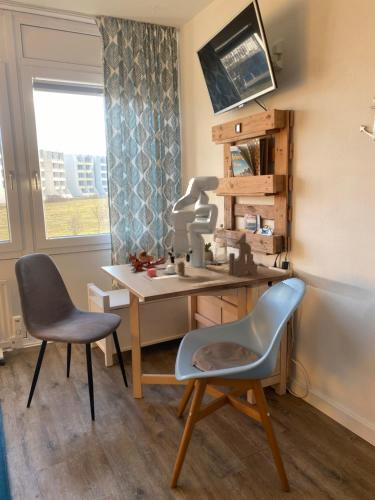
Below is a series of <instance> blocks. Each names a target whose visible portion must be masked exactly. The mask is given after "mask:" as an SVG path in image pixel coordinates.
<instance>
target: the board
mask: <svg viewBox="0 0 375 500" xmlns="http://www.w3.org/2000/svg"><path fill="white" fill-rule="evenodd" d="M146 273H147V274H146V276H145V275H142V277H144V278H145V279H147V280H149V281H151V282H152V280H151V279H150V278H152V279H153V280H161V279H162V280H163V279H167V278H177V277H180V276H179V275H178V272H175V273H174V274H166V272H162V276H157V269H156V268H155V267H153V268H152V269H147V268H146ZM147 276H148V277H150V278H148V277H147ZM184 276H186V274H185V275H183V277H184Z"/></svg>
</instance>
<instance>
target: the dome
mask: <svg viewBox="0 0 375 500" xmlns="http://www.w3.org/2000/svg"><path fill="white" fill-rule="evenodd" d="M175 271H176V269H175V267H174V265H172V264H168V265H167V266H166V267H165V273H166V274H174V273H175Z"/></svg>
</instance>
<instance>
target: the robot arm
mask: <svg viewBox="0 0 375 500" xmlns="http://www.w3.org/2000/svg"><path fill="white" fill-rule="evenodd" d="M219 180H220V179H219V178H218V176H215V175H209V176H197V177H196V176H195V177H192V178H191V179H190V180H189V184H188V185H187V188H186V191H185V195H184V196H182V197H181V198H180V199H178V200H177V201H176V202H175V204H174V205H173V208H172V210H171V213H170V214H171V215H170V219H171V221H172V222H173V235H172V236H171V239H170V241H171V242H170V246H169V247H167V248H165V251H166V252H167V254H168V256H169V258H170V259H169V260H170V263H171V265H172V264H174V265H175V255H176V254H184V253H185V254H186V255H185V262H186V263H189V265H188V267H191V268H202V269H204V270H206V268H207V269H208V265H211V264H212V260H211V261H210V260H206V250H205V247H206V243H205V242H206V241H205V239H204V237H203V235H213V234H214V233H215V232H216V228H217V223H218V217H219V208H218V206H217V204H215V203H209V201H210V196H209V195H208V193H206V192H212V191H215V190H217V189H218V188H219V186H220V181H219ZM193 205H194V207H193V210H188V209H187V210H186V209H185V208H187V207H190V206H193ZM184 209H185V210H184Z"/></svg>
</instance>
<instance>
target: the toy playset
mask: <svg viewBox="0 0 375 500" xmlns="http://www.w3.org/2000/svg"><path fill="white" fill-rule="evenodd" d="M147 254H148V252H147V251H146V250H142V251H140V252H139V254H138V258H137V253H136V251H134V255H132V254H131V252H129V253H128V256H129V259H128V262H130V264H128V266H129V267H133V268H132V269H130V271H136V272H137V271H138V272H147V269H152V268H155V267H156V266H160V265H161V266H162V265H165V264H166V262H167V260H168V256H164V257H161V258H158V259H157V260H156V261H155V260H154V259H155V258H154V257H155V255H156V253H150V254H148V255H147Z"/></svg>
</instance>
